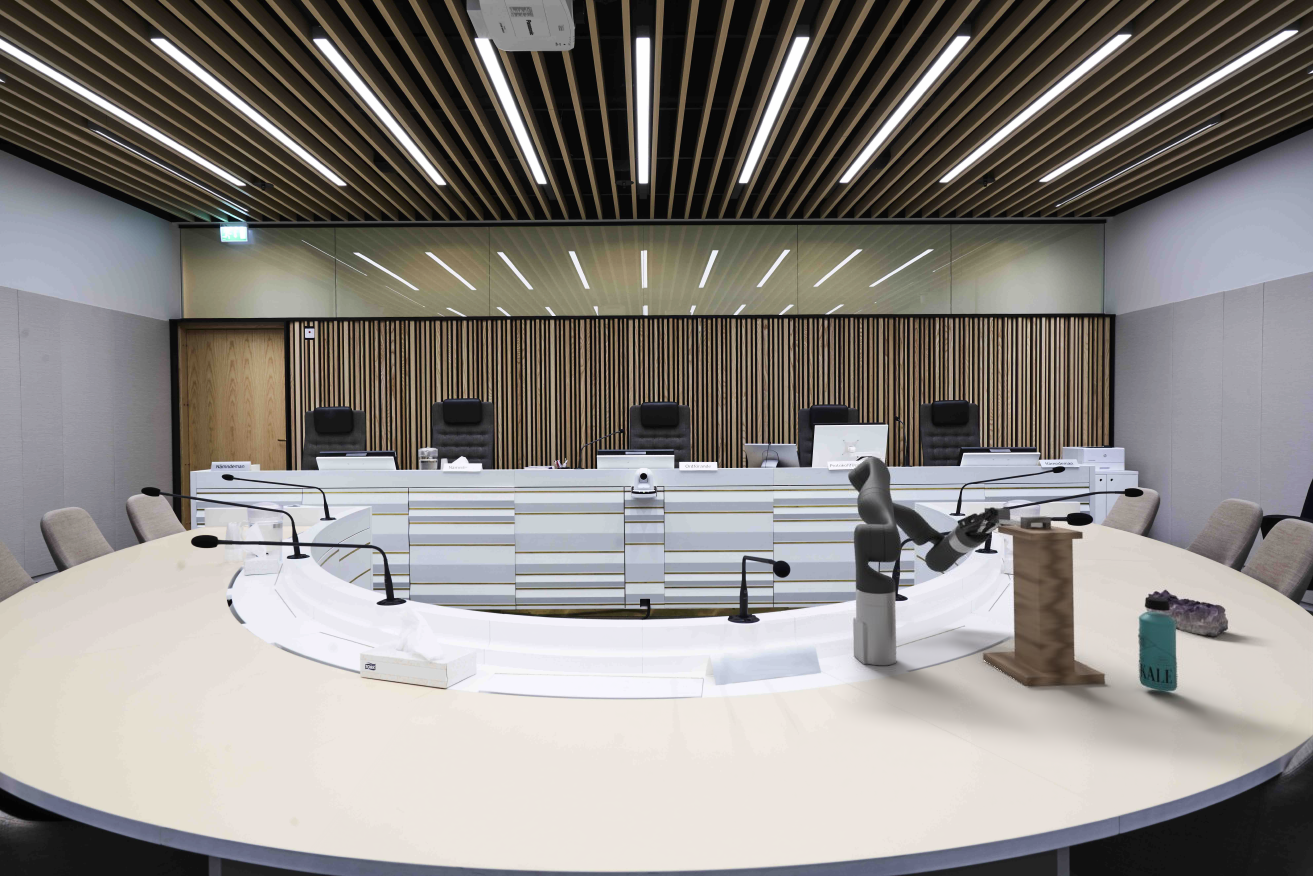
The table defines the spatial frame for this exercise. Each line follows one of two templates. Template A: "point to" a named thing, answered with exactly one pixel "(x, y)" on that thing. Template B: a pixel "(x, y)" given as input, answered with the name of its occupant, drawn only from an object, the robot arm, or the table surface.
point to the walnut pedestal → (1043, 608)
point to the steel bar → (1007, 518)
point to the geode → (1194, 615)
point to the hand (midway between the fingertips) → (1000, 510)
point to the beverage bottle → (1157, 647)
